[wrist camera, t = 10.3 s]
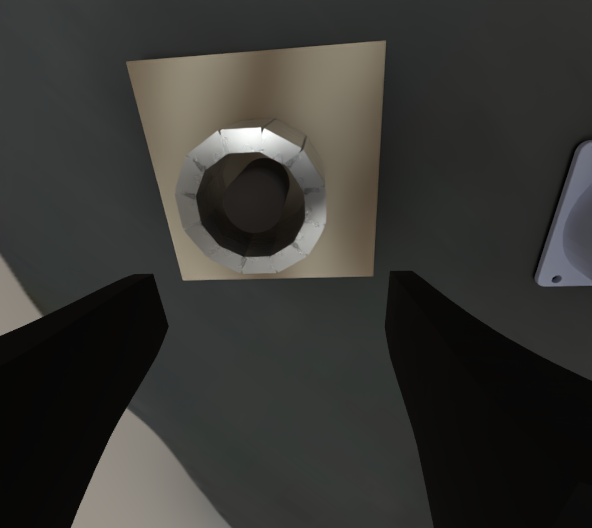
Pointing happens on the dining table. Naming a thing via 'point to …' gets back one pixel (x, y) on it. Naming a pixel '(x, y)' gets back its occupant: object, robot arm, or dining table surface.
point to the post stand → (260, 168)
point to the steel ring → (210, 193)
